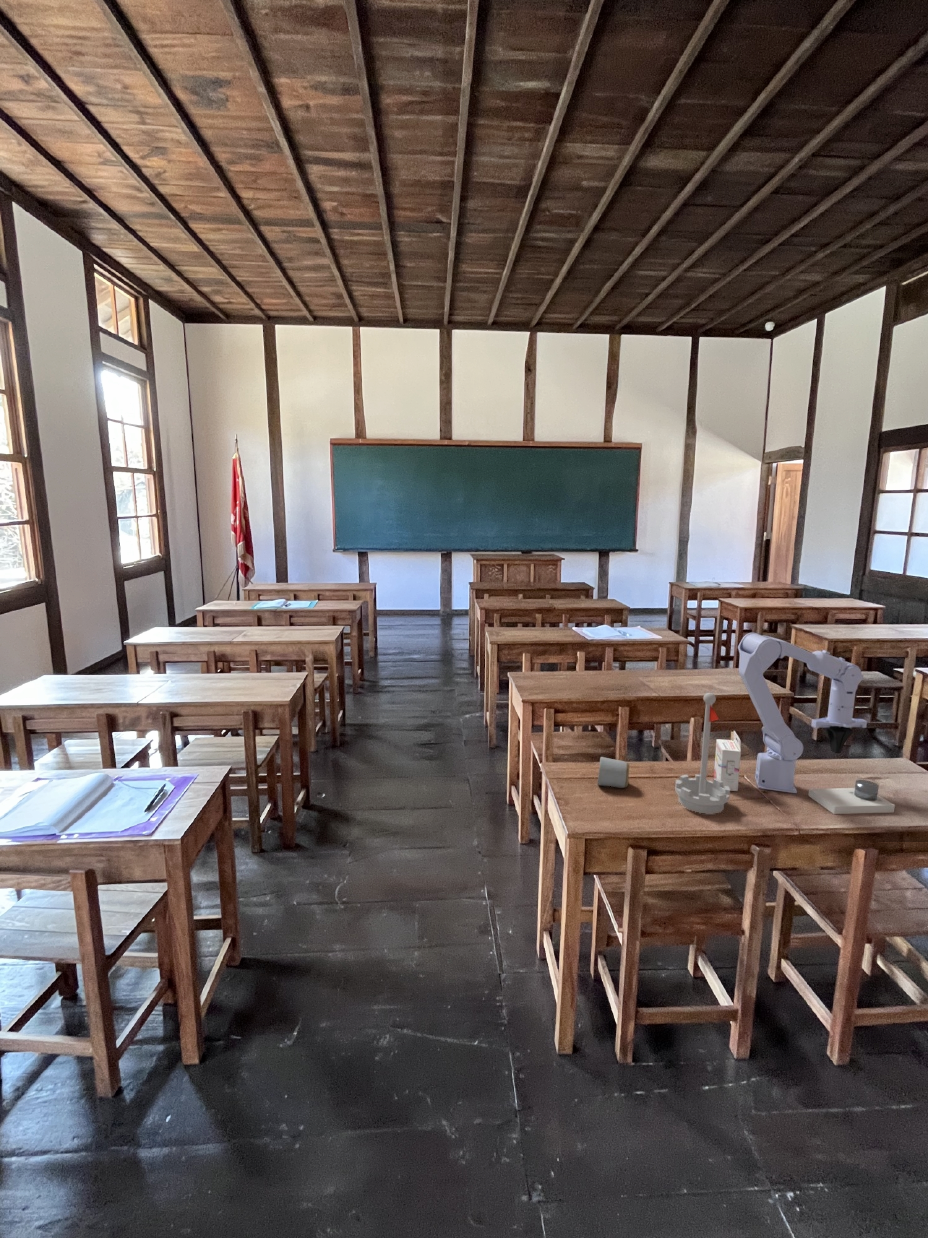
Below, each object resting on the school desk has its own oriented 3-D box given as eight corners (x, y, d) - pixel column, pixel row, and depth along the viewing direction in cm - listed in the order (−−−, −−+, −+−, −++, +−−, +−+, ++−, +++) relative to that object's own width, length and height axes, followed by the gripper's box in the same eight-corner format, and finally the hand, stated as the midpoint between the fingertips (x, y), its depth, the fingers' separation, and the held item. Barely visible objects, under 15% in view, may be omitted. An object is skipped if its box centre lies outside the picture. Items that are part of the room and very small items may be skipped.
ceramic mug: (628, 793, 160) (629, 766, 159) (597, 789, 162) (598, 762, 161) (627, 777, 170) (629, 752, 169) (598, 774, 172) (599, 749, 171)
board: (833, 814, 149) (834, 806, 149) (808, 796, 159) (809, 789, 159) (893, 812, 151) (894, 805, 150) (864, 794, 160) (865, 787, 160)
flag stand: (666, 793, 160) (673, 686, 155) (712, 792, 161) (721, 685, 156) (688, 817, 147) (697, 701, 142) (738, 815, 148) (749, 700, 143)
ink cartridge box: (712, 777, 170) (716, 728, 168) (730, 778, 170) (735, 729, 167) (718, 790, 162) (723, 739, 160) (738, 792, 161) (742, 740, 159)
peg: (856, 805, 154) (858, 786, 153) (850, 797, 158) (853, 778, 157) (878, 808, 152) (881, 789, 151) (872, 800, 157) (875, 781, 156)
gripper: (825, 709, 157) (819, 758, 160) (877, 709, 158) (871, 757, 161) (808, 701, 164) (803, 748, 167) (858, 701, 165) (852, 747, 168)
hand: (835, 752), depth 164 cm, fingers closed
